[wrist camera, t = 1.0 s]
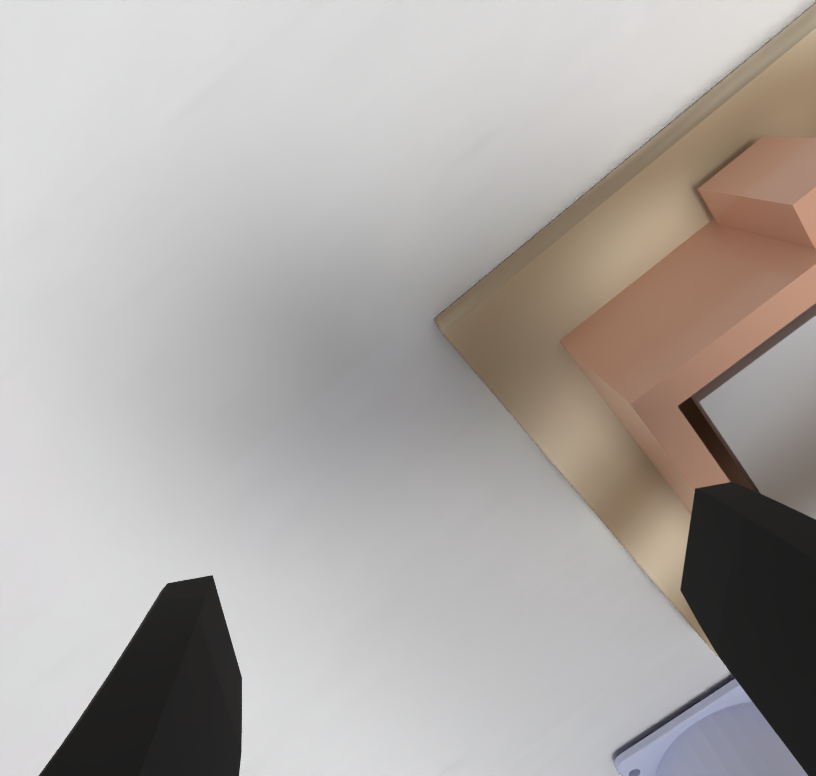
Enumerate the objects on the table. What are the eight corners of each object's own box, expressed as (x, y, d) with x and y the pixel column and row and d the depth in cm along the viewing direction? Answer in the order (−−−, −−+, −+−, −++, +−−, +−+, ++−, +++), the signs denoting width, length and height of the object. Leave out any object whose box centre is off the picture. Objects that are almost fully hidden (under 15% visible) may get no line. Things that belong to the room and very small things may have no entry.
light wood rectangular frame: (1090, 358, 23) (1140, 373, 21) (695, 627, 25) (716, 656, 24) (941, -102, 16) (997, -122, 15) (433, 319, 19) (442, 334, 18)
